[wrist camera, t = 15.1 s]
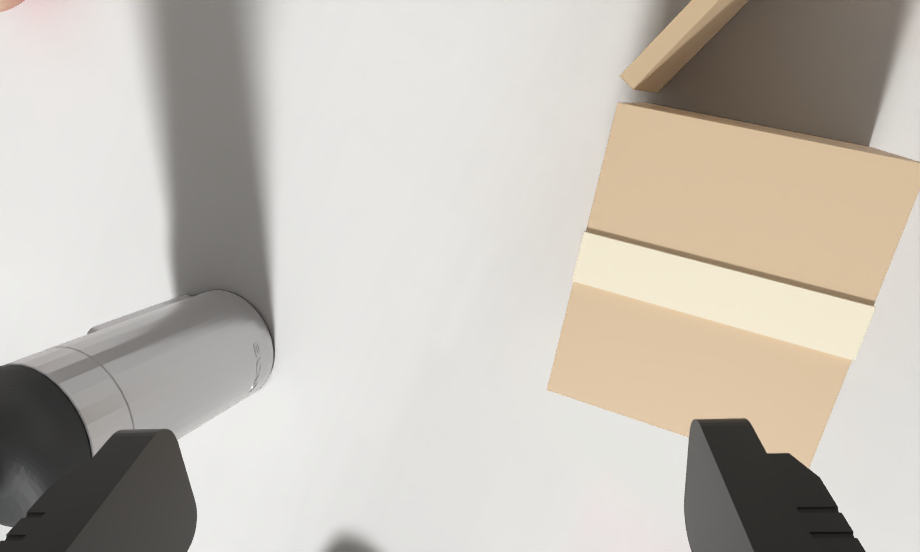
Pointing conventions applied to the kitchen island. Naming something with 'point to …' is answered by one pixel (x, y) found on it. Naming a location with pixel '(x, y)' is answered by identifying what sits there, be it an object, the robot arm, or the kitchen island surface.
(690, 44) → the beige l-shaped piece
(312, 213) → the kitchen island surface
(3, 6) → the decorative fruit
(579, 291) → the brown carton
